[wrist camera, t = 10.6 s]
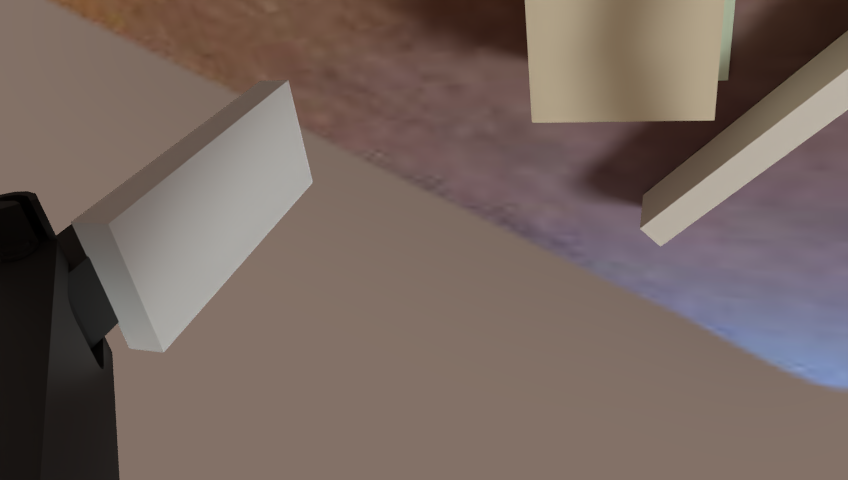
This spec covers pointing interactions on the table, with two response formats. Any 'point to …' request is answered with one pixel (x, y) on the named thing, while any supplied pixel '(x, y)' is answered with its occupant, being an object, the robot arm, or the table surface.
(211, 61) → the table surface
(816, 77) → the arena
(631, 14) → the birch cube
